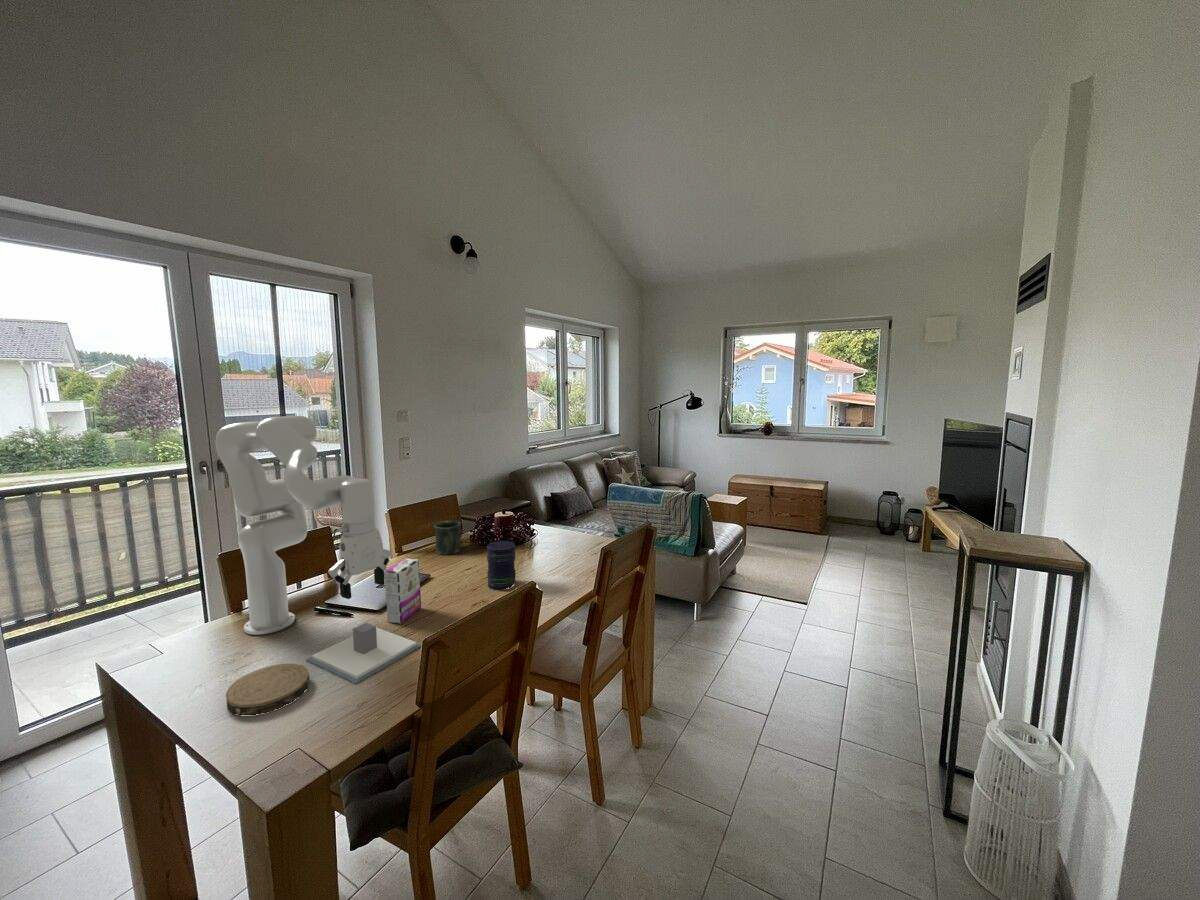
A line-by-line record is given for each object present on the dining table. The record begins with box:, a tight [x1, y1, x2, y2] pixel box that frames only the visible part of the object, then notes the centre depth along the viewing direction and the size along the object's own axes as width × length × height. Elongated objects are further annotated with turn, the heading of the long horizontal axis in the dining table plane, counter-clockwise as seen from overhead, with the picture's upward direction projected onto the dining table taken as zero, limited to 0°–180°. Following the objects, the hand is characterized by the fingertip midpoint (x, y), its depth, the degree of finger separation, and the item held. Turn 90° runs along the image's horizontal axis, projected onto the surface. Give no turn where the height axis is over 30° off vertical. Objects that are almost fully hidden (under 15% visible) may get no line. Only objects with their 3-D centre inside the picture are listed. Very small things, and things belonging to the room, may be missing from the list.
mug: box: [433, 520, 463, 556], centre depth 212 cm, size 11×15×12 cm
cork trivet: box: [225, 663, 310, 715], centre depth 114 cm, size 16×16×3 cm
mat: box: [305, 627, 422, 685], centre depth 131 cm, size 20×20×1 cm
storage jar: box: [486, 540, 516, 591], centre depth 175 cm, size 10×10×15 cm
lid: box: [311, 622, 417, 679], centre depth 131 cm, size 18×18×7 cm
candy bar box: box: [384, 558, 422, 625], centre depth 152 cm, size 11×5×16 cm, turn 168°
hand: (363, 590), depth 129 cm, fingers open, 9 cm apart
